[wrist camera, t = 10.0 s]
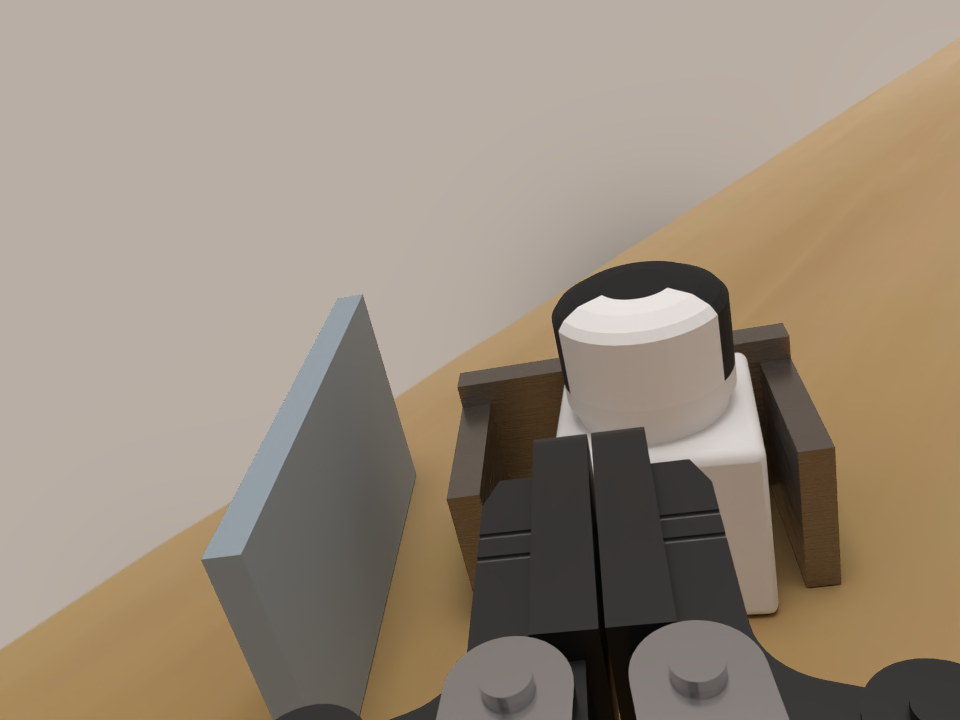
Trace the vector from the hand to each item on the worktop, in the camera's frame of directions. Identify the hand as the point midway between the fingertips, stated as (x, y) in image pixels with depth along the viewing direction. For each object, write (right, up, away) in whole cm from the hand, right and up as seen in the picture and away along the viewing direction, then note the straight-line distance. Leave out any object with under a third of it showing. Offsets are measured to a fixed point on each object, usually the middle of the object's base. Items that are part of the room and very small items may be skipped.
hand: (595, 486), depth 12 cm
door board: (-6, -8, +25) cm, 27 cm away
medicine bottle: (+6, -6, +24) cm, 25 cm away
